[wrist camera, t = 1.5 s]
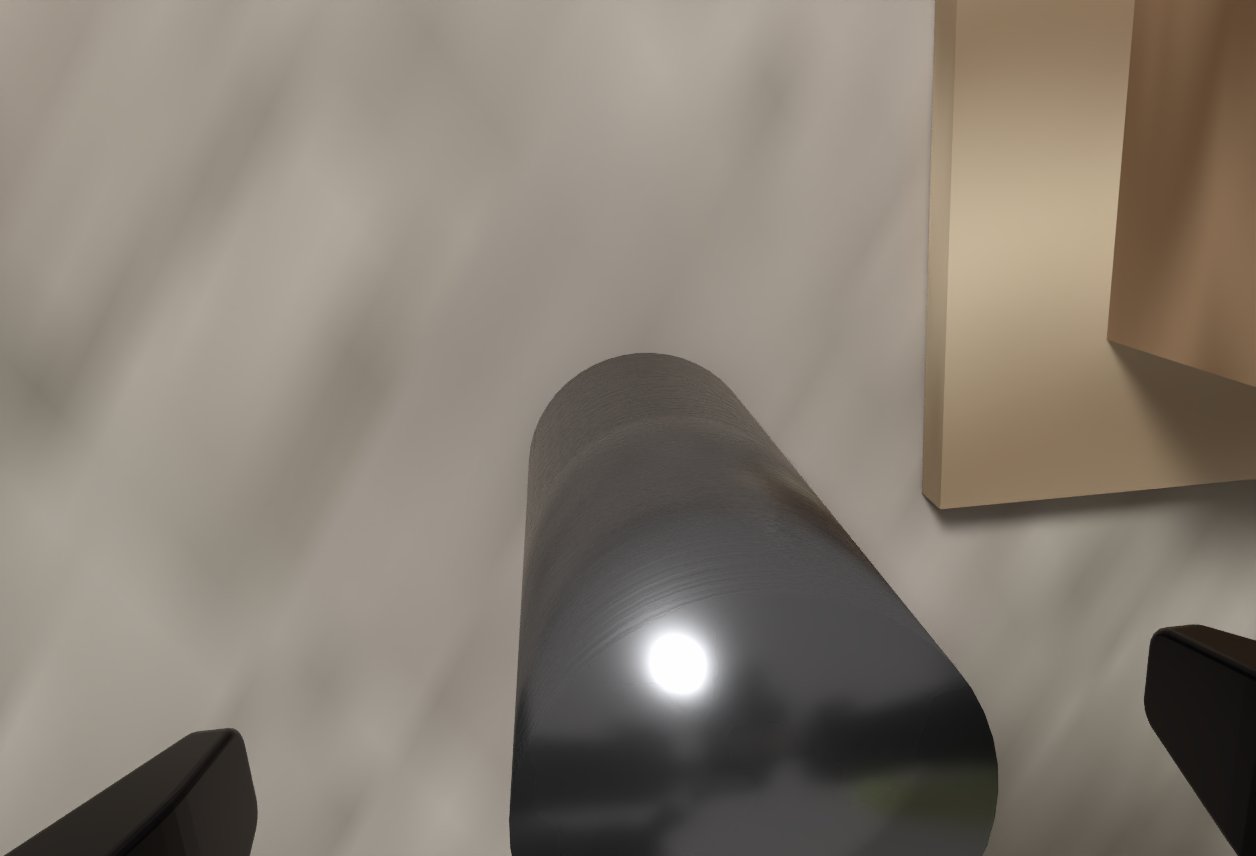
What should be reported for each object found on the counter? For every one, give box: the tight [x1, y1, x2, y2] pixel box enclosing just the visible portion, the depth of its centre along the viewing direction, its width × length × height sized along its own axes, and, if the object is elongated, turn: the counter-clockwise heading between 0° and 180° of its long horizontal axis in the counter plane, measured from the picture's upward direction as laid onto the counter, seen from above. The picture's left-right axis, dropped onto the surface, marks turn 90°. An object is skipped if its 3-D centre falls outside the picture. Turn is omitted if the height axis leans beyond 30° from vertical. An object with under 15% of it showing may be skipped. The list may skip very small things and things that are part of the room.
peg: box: [509, 353, 998, 856], centre depth 12 cm, size 4×4×9 cm
